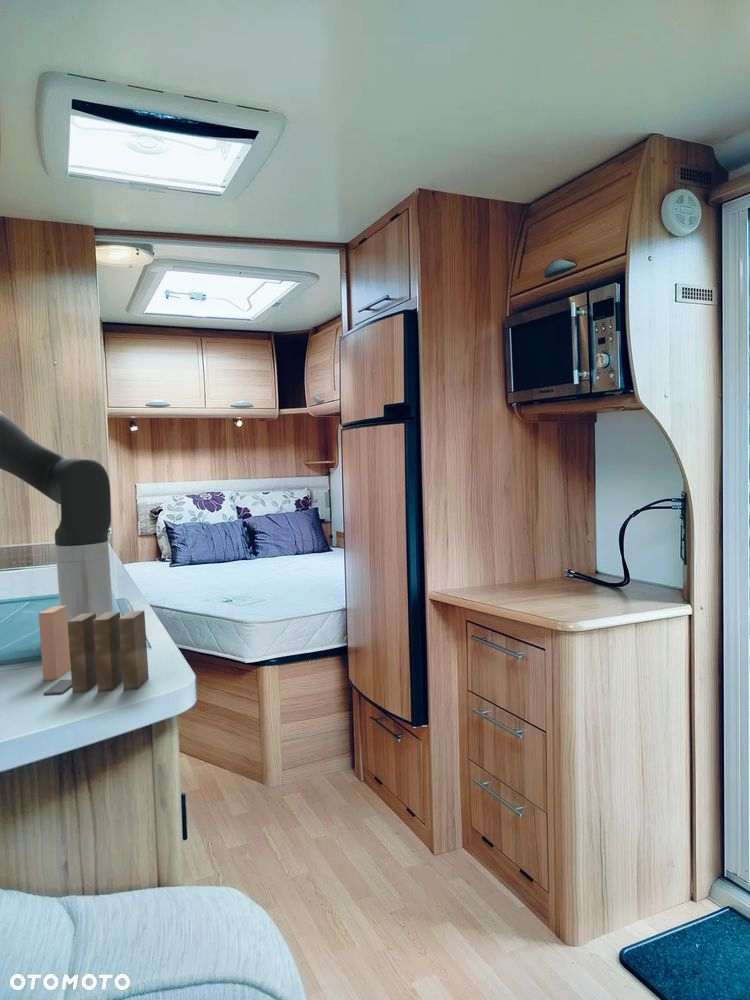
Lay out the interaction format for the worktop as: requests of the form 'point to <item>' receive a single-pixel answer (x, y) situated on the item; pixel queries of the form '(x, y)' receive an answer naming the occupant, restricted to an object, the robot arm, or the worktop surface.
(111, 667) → the walnut domino
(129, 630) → the walnut domino
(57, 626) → the salmon pink domino
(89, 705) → the worktop surface
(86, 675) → the walnut domino
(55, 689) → the pad
